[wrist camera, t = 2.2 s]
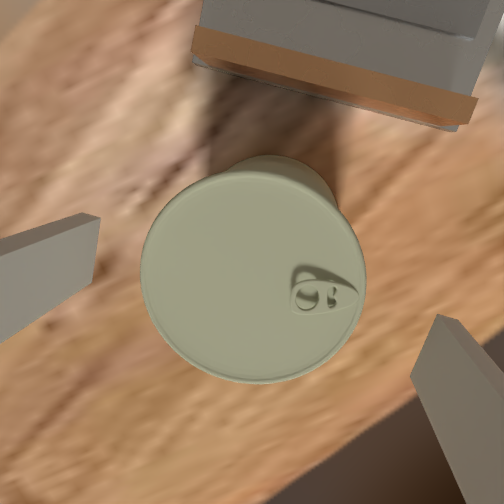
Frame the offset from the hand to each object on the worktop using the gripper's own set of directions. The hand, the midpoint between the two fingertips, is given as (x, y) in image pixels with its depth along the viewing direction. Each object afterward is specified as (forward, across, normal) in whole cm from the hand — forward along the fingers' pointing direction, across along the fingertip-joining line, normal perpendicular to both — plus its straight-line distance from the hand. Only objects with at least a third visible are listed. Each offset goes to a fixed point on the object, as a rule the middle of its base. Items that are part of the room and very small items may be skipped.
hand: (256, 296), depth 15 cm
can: (+12, -1, 0) cm, 13 cm away
